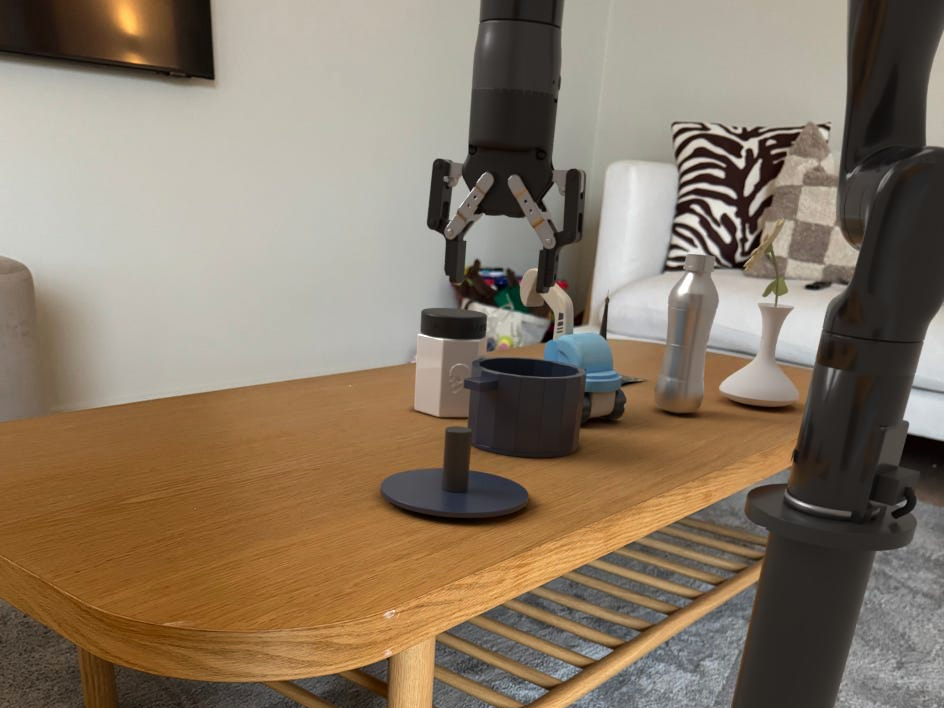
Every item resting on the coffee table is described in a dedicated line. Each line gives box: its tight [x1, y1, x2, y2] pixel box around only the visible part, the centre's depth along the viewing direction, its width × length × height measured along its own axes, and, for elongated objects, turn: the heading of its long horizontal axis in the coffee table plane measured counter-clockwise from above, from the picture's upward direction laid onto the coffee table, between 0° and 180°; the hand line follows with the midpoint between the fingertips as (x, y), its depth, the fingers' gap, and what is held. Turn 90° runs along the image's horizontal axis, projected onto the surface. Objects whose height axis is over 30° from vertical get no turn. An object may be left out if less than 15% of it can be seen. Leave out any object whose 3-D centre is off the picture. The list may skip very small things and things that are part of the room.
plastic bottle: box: [653, 253, 720, 415], centre depth 126 cm, size 6×7×20 cm
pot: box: [464, 356, 587, 459], centre depth 108 cm, size 13×18×8 cm
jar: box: [413, 307, 488, 419], centre depth 119 cm, size 9×8×12 cm
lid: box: [380, 425, 530, 519], centre depth 87 cm, size 14×14×7 cm
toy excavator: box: [519, 267, 627, 425], centre depth 122 cm, size 9×17×17 cm, turn 37°
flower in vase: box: [718, 217, 800, 408], centre depth 134 cm, size 13×11×25 cm
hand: (499, 287), depth 89 cm, fingers open, 8 cm apart
